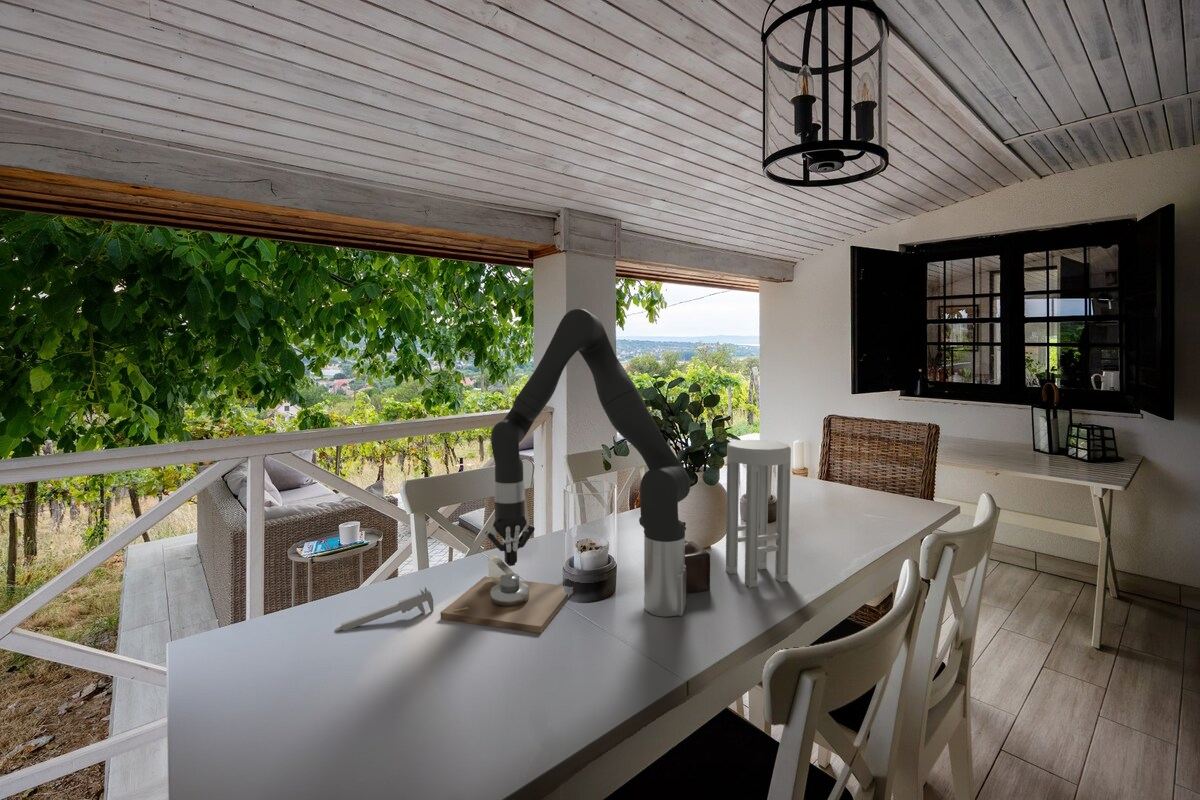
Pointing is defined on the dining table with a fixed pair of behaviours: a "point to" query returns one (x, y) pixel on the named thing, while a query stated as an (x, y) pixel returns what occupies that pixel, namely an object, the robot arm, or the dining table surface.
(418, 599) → the caliper
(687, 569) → the dark brown wooden box
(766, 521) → the stool
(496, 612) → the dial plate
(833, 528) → the dining table surface
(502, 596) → the beige bar and knob
